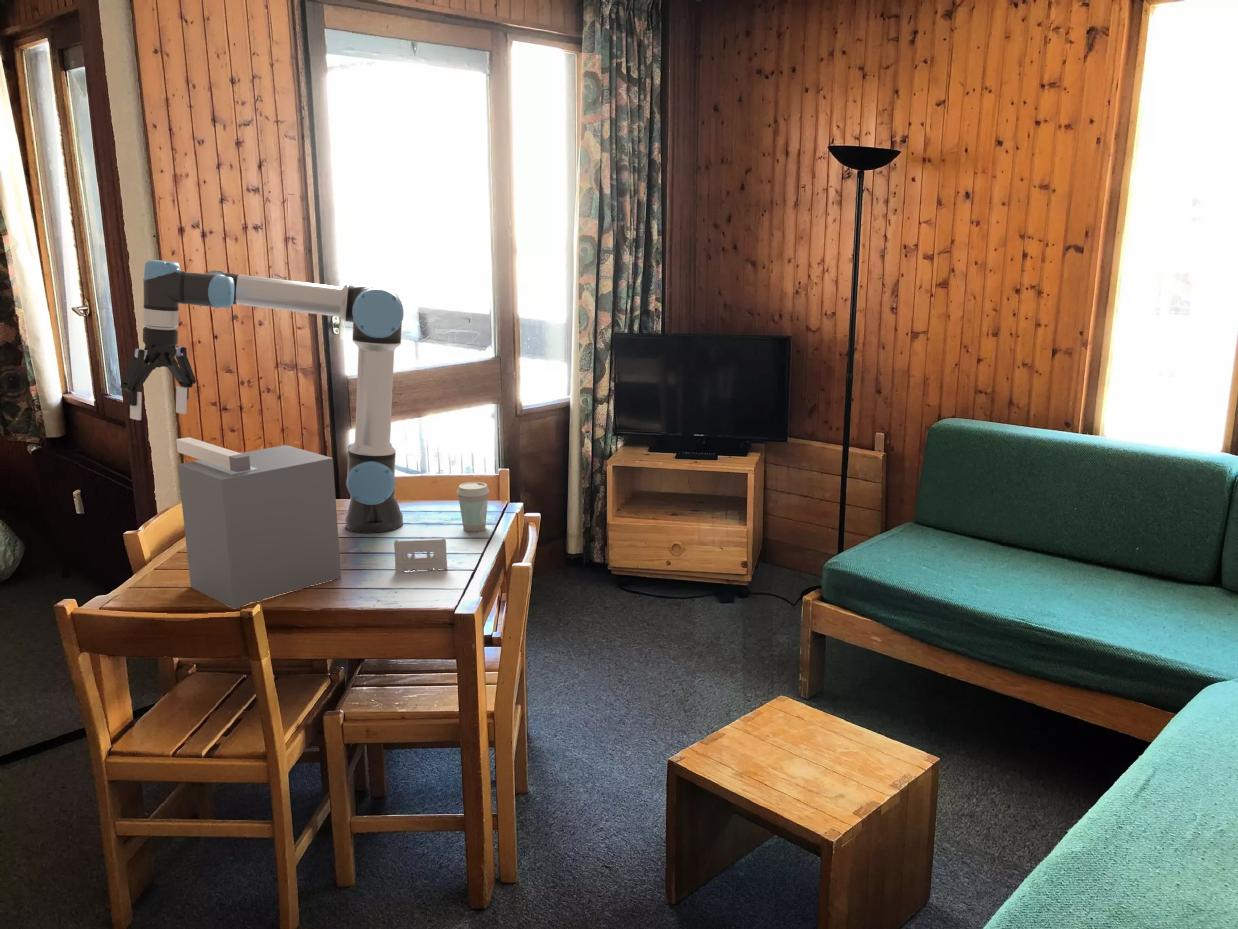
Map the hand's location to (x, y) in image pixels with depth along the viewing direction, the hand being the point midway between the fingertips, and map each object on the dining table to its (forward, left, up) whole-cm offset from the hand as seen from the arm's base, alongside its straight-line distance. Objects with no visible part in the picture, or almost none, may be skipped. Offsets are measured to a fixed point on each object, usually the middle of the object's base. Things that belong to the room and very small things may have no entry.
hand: (158, 416), depth 239 cm
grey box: (-36, +1, -35) cm, 50 cm away
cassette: (-60, -24, -35) cm, 73 cm away
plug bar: (-28, +6, -6) cm, 29 cm away
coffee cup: (-49, -56, -35) cm, 82 cm away
